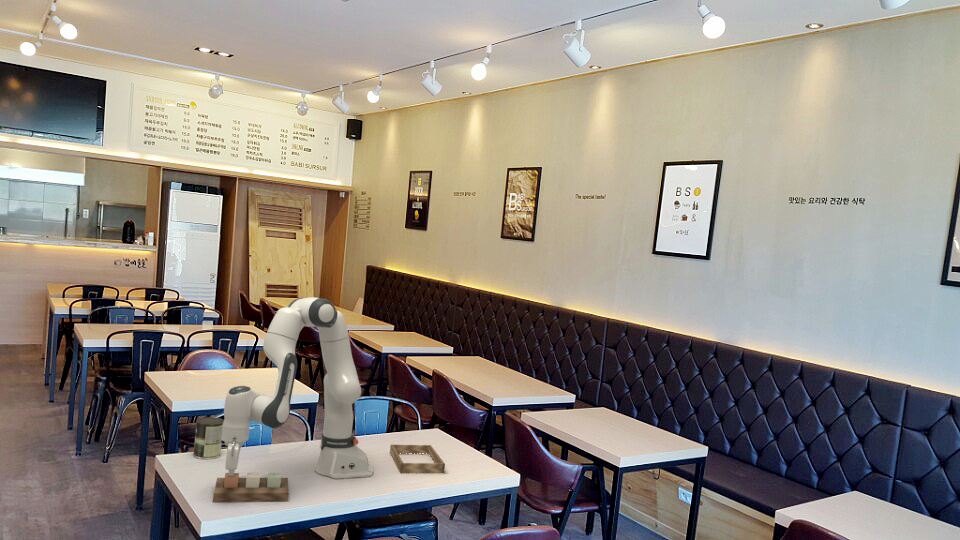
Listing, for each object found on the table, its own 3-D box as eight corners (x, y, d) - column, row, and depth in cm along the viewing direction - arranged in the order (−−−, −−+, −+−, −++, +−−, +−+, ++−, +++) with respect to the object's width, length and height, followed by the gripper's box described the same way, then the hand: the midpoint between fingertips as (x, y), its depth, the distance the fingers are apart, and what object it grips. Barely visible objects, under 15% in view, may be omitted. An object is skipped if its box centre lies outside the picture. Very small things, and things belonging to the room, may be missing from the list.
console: (287, 485, 246) (287, 477, 246) (288, 501, 232) (288, 492, 232) (216, 486, 239) (217, 477, 239) (212, 502, 225) (213, 493, 225)
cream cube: (259, 483, 238) (260, 473, 238) (258, 487, 234) (259, 477, 234) (245, 483, 237) (246, 472, 237) (245, 487, 233) (246, 477, 233)
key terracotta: (238, 483, 236) (239, 472, 236) (237, 487, 232) (238, 477, 232) (224, 483, 235) (225, 472, 235) (223, 487, 231) (224, 477, 231)
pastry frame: (429, 454, 302) (430, 445, 302) (443, 473, 277) (444, 464, 277) (389, 453, 297) (390, 444, 297) (400, 473, 272) (401, 463, 272)
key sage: (279, 483, 240) (280, 473, 240) (280, 487, 236) (281, 477, 236) (266, 483, 239) (267, 473, 239) (266, 487, 235) (267, 477, 235)
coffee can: (189, 458, 265) (192, 422, 265) (198, 450, 275) (201, 416, 275) (216, 460, 266) (219, 424, 265) (224, 452, 276) (227, 418, 276)
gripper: (243, 443, 224) (239, 485, 224) (246, 426, 244) (242, 465, 244) (223, 443, 222) (219, 484, 223) (227, 426, 242) (223, 464, 242)
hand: (231, 474), depth 233 cm, fingers closed
